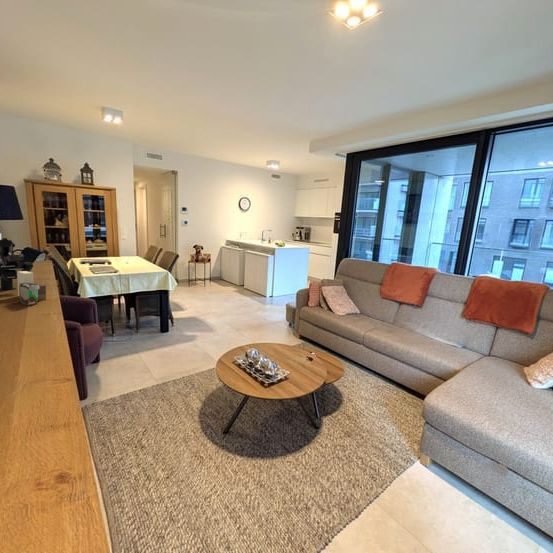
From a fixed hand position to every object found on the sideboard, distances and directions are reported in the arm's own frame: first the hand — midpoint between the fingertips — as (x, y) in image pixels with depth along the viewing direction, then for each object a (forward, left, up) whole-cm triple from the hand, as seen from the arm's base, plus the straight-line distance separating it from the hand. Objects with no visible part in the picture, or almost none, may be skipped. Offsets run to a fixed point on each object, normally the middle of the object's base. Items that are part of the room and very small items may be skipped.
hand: (17, 279), depth 168 cm
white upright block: (+9, 0, -8) cm, 13 cm away
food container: (+26, -4, -8) cm, 27 cm away
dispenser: (+19, -1, -8) cm, 21 cm away
